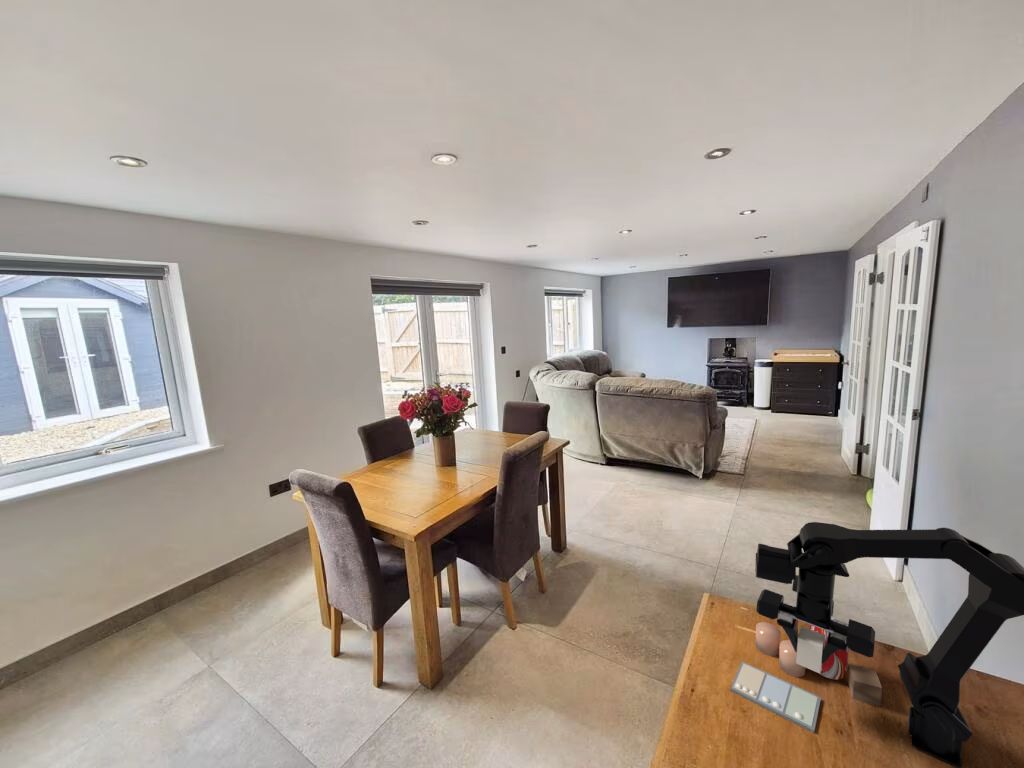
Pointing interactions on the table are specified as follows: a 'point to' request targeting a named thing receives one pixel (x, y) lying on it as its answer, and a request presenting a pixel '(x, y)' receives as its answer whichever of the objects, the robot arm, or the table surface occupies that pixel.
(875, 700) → the brown cube
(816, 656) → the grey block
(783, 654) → the pink egg
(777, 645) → the pink rounded lump
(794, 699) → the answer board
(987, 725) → the table surface
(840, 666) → the soda can
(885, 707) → the table surface
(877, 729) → the table surface
